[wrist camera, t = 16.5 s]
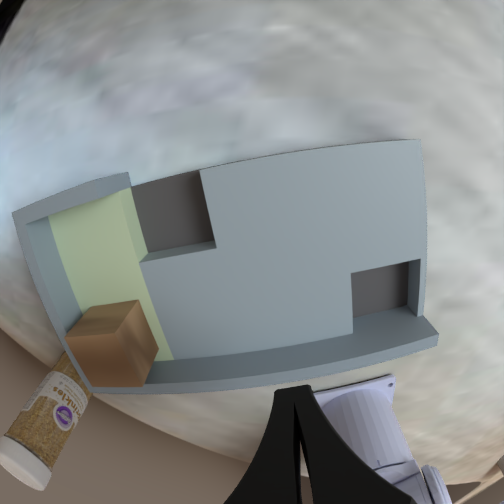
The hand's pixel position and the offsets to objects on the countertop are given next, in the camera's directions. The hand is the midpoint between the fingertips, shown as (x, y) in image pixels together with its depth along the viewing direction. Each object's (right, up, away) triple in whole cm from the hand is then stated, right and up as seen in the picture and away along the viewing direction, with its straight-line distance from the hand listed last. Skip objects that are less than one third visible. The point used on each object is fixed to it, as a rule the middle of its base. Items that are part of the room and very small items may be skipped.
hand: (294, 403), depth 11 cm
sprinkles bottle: (-18, -5, +12) cm, 22 cm away
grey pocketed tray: (-2, +6, +9) cm, 11 cm away
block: (-11, +1, +8) cm, 13 cm away
